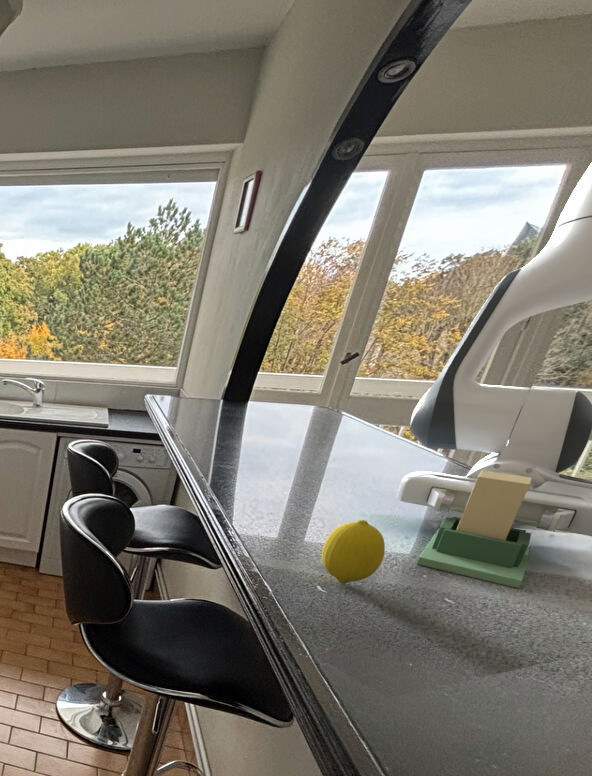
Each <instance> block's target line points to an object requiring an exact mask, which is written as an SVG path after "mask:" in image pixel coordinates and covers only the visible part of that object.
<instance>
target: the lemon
mask: <svg viewBox="0 0 592 776" xmlns="http://www.w3.org/2000/svg"><path fill="white" fill-rule="evenodd" d="M385 548H386V545H385V539H384V535H382V532H380V530H379V529H378V528H376V527H375V526H374V525H372V524H370V523H368V521H367V520H366V519H358V520H357V521H350V522H345V523H343V524H340V525H338V526H337V527H335V528H334V529H333V530H332V531H331V532H330V533H329V535H328V536H327V538H326V540H325V541H324V544H323V546H322V550H321V563H322V565H323V567H324V569H325V570H326V572H327V573H328V574H330V575H331V576H332V577H334V578H335V579H336V581H337V582H338V583H339V582H340V583H339V584H342V583H343V584H342V585H345V584H348V583H350V582H358V581H362V580H365V579H367V578H369V577H371V576H372V575H374V573H376V571H377V570H378V569H379V567H381V564H382V562H383V560H384V557H385V550H386V549H385Z"/></svg>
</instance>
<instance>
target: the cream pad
mask: <svg viewBox="0 0 592 776" xmlns="http://www.w3.org/2000/svg"><path fill="white" fill-rule="evenodd" d="M531 480H532V478H531V477H524V476H517V475H510V474H504V473H497V472H490V471H481V473H480V474H479V476H478V478H477V480H476V483H475V485H474V488H473V490H472V493H471V495H470V498H469V500H468V503H467V505H466V507H465V510H464V512H463V513H462V514H461V517H460V518H461V520H460V522H459V525H458V527H457V530H456V531H461V532H466V533H471V534H476V535H481V536H486V537H491V538H496V539H501V540H506V538H507V535H508V533H509V531H510V529H511V528H512V527H513V525H512V524H513V522H514V520H515V517H516V515H517V513H518V510H519V508H520V506H521V504H522V501H523V499H524V497H525V494H526V492H527V490H528V488H529V485H530V483H531Z"/></svg>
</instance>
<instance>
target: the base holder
mask: <svg viewBox="0 0 592 776" xmlns="http://www.w3.org/2000/svg"><path fill="white" fill-rule="evenodd" d="M460 520H461V517H459V516H458V517H457V516H452V517H449V516H448V517H447V516H446V518H445V519H444V521H443V522H442V523H441V525H440V527H438V529H437V530H436V531H435V532H434V534H433V536H432V537H431V539H430V540H429V542H428V544H427V545H426V546H425V548H424V549H423V551H422V552H421V553H420V555H419V557H418V559H417V561H416V565H419V566H424V567H428V568H431V569H436V570H439V571H444V572H449V573H452V574H457V575H462V576H465V577H470V578H474V579H478V580H481V581H482V580H483V581H486V582H491V583H493V584H499V585H502V586H507V587H511V588H515V589H520V587H521V585H522V583H523V580H524V576H525V573H526V572H525V571H526V568H527V564H528V559H529V554H530V550H531V546H529V544H530V540H531V536H532V532H527V530H526V529H521V528H516V527H511V529H510V531H509V533H508V535H507V538H506V540H501V539H496V538H491V537H486V536H481V535H476V534H471V533H466V532H461V531H456V530H457V527H458V525H459V522H460Z"/></svg>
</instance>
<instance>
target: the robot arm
mask: <svg viewBox="0 0 592 776" xmlns="http://www.w3.org/2000/svg"><path fill="white" fill-rule="evenodd" d="M590 301H592V162H591V163H590V164H589V166H588V167H587V169H586V170H585V172H584V173H583V175H582V177H581V178H580V179H579V181H578V182H577V184H576V186H575V188H574V189H573V191H572V193H571V195H570V197H569V199H568V200H567V202H566V204H565V206H564V208H563V210H562V212H561V213H560V216H559V218H558V220H557V223H556V226H555V228H554V231H553V232H552V235H551V237H550V239H549V240H548V242H547V244H546V245H545V246H544V248H543V249H542V250H541V251H540V253H538V254H537V255H536V256H535V257H534V258H533V259H532V260H530V262H528V263H527V264H525V265H524V266H523V267H520V268H517V269H515V270H512V271H510V272H508V273H507V274H506V275H505V276H504V277H503V278H502V279H500V281H499V282H498V283H497V285H496V286H495V287H494V289H493V290H492V292H491V293H490V294H489V296H488V297H487V299H486V300H485V302H484V303H483V304H482V307H481V308H480V309H479V311H478V312H477V314H476V316H474V319H473V320H472V322H471V324H470V325H469V327H468V328H467V330H466V331H465V333H464V335H463V336H462V338H461V339H460V341H459V343H458V345H456V347H455V349H454V351H453V353H452V354H451V355H450V357H449V359H448V360H447V362H446V363H445V365H444V367H443V368H442V370H441V372H440V373H439V375H438V376H437V378H436V380H434V383H433V384H432V386H430V388H429V389H428V390H427V392H425V393H424V395H423V396H422V397H421V398H420V400H418V401H419V402H418V403H417V405H416V406H415V408H414V409H413V412H412V415H411V418H410V423H409V425H410V426H409V431H410V433H411V434H412V436H413V437H414V438H415V439H416V441H418V442H419V443H421V444H422V445H423V446H424V447H426V448H427V449H435V450H436V449H437V450H453V451H455V450H456V451H457V450H463V451H471V452H478V453H486V454H487V453H488V454H489V455H487V456H485V457H483V458H481V459H480V460H479V461H477V462H476V463H475V464H474V465H473V466H472V468H470V470H469V471H468V472H467V474H466V476H462V475H461V476H460V475H454V474H448V473H441V472H433V471H426V470H425V471H424V470H422V471H415V472H410V473H408V474H406V475H405V476H404V477H402V479H401V481H400V483H399V487H398V490H397V492H396V496H395V498H396V499H397V500H399V501H400V502H402V503H408V504H412V505H419V506H422V507H423V506H424V507H429V508H433V510H435V511H443V512H447V513H448V512H450V511H451V512H456V513H461V514H463V512H464V510H465V507H466V505H467V503H468V500H469V498H470V495H471V493H472V490H473V488H474V485H475V483H476V480H477V478H478V476H479V474H480V473H481V471H490V472H497V473H504V474H510V475H517V476H524V477H531V478H532V480H531V483H530V485H529V488H528V490H527V492H526V494H525V497H524V499H523V501H522V504H521V506H520V508H519V510H518V513H517V515H516V517H515V520H514V522H513V524H512V526H518V527H519V526H520V527H536V529H540V530H546V531H549V532H555V530H556V531H561V532H566V533H572V534H577V535H583V536H587V537H592V480H590V479H584V478H580V477H575V476H572V475H569V474H567V475H566V474H563V473H562V472H564V471H566V470H568V469H569V468H571V467H573V466H575V465H576V463H577V462H578V460H579V459H580V457H581V456H582V454H583V452H584V450H585V449H586V447H587V444H588V442H589V439H590V437H591V434H592V402H591V401H590V400H589V398H588V397H587V396H586V395H585V394H584V393H583V392H581V391H580V390H572V389H561V388H559V389H558V388H550V387H549V388H548V387H547V388H546V387H521V386H509V385H508V386H505V385H492V384H483V383H479V382H478V381H477V379H476V378H477V377H478V375H479V374H480V372H481V370H482V369H483V368H484V366H485V364H486V363H487V361H488V360H489V358H490V356H492V353H493V352H494V350H495V349H496V348H497V345H498V344H499V343H500V341H501V340H502V338H503V337H504V335H505V334H506V333H507V332H508V331H509V329H511V328H512V327H513V326H515V325H516V324H517V323H520V322H522V321H523V320H525V319H528V318H530V317H533V316H536V315H538V314H542V313H545V312H548V311H552V310H555V309H560V308H564V307H568V306H573V305H576V304H577V305H578V304H581V303H585V302H590Z"/></svg>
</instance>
